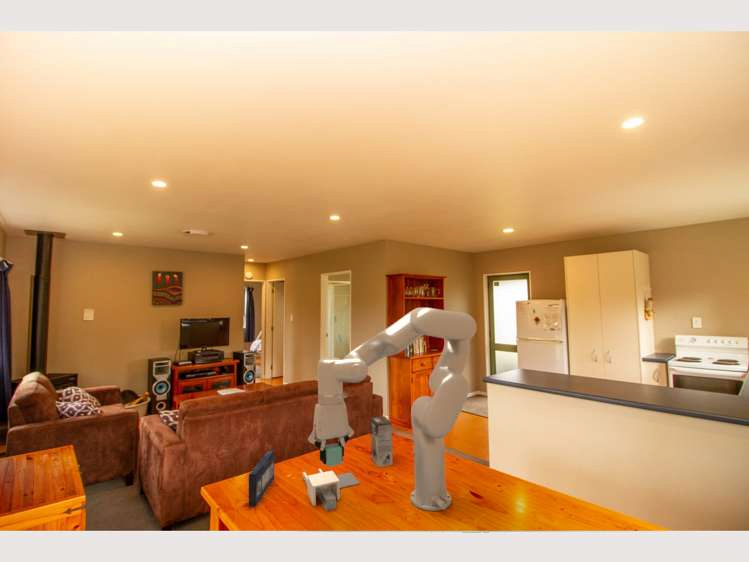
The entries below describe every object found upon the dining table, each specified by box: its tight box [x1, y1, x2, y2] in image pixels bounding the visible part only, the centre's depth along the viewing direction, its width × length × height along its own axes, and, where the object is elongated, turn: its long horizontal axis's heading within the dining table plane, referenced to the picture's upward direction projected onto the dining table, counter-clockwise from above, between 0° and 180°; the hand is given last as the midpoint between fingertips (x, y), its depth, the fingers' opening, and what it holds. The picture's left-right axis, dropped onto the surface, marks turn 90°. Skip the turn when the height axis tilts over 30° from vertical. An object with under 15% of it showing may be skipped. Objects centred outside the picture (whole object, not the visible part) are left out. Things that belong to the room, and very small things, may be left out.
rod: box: [316, 485, 337, 512], centre depth 115 cm, size 14×3×4 cm, turn 24°
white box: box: [302, 468, 341, 507], centre depth 122 cm, size 20×9×6 cm, turn 23°
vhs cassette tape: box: [247, 450, 275, 508], centre depth 121 cm, size 18×3×10 cm, turn 176°
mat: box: [336, 472, 361, 489], centre depth 127 cm, size 9×9×1 cm
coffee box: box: [369, 415, 394, 468], centre depth 143 cm, size 9×6×16 cm
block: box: [325, 442, 343, 468], centre depth 108 cm, size 4×4×4 cm
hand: (332, 460), depth 109 cm, fingers closed on block, 4 cm apart
